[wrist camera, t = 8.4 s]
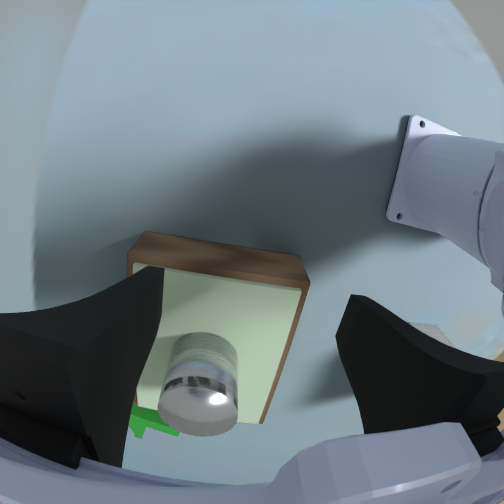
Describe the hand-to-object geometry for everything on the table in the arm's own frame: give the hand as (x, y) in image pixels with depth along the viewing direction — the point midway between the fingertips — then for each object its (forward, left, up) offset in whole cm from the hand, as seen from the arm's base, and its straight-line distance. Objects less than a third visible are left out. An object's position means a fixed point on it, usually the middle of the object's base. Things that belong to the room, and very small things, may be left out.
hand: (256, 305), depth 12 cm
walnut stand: (+2, +9, -10) cm, 14 cm away
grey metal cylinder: (+2, +8, -6) cm, 10 cm away
